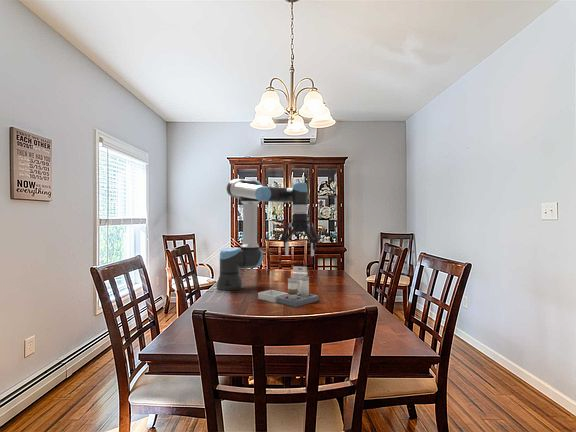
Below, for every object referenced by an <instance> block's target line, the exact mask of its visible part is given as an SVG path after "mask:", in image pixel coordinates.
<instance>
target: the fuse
mask: <svg viewBox="0 0 576 432" xmlns="http://www.w3.org/2000/svg"><path fill="white" fill-rule="evenodd" d="M309 286H310V276H300V296H301V297H309V294H310V292H309V291H310V287H309Z"/></svg>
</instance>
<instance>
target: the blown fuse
mask: <svg viewBox="0 0 576 432" xmlns="http://www.w3.org/2000/svg"><path fill="white" fill-rule="evenodd" d="M297 282H298V279H297V278H292V277H289V278H287V293H288V299H289V300H297Z"/></svg>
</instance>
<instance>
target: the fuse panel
mask: <svg viewBox="0 0 576 432" xmlns="http://www.w3.org/2000/svg"><path fill="white" fill-rule="evenodd" d="M319 300H320V297H319V295H317V294H312V293H309V297H301V296H300V292H299V293H297V300H289V299H288V295H287V296H286V295H285V296H282V297H278V298H277V302H276V303H277V304H281V303H282V305H285V304H286V305H285V306H289V307H294V308H297V307H301V306H304V305H307V304H312V303H315V302H319Z"/></svg>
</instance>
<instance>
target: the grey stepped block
mask: <svg viewBox="0 0 576 432" xmlns="http://www.w3.org/2000/svg"><path fill="white" fill-rule="evenodd" d="M308 275H309V273H308V266H294V265H293V268H292V273H291V278H297V279H298V282H297V293H299V292H300V276H308Z"/></svg>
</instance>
